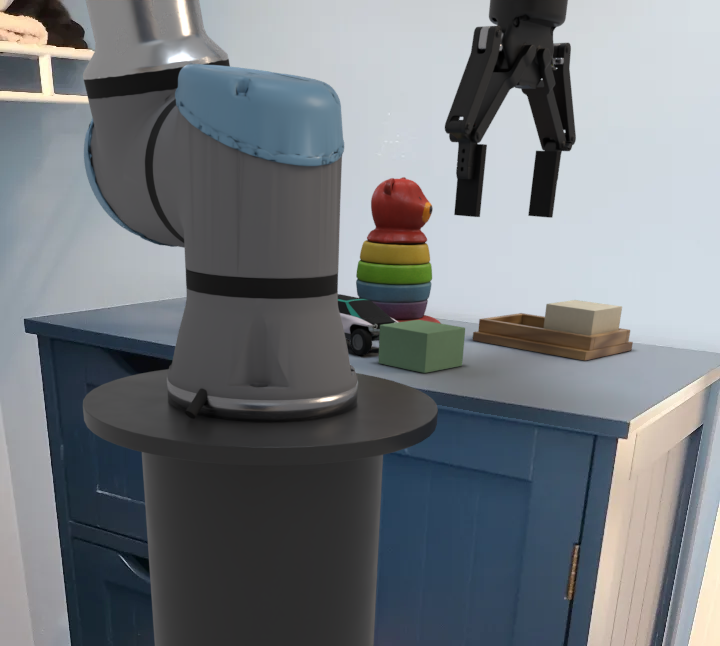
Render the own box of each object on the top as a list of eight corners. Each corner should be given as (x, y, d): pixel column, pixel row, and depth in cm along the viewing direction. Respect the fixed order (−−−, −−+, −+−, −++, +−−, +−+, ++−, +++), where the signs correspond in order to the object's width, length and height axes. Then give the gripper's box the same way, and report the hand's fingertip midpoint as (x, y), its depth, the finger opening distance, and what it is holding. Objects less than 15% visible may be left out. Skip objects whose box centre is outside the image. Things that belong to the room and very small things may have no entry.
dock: (585, 360, 108) (588, 338, 107) (472, 340, 118) (474, 319, 117) (631, 350, 116) (635, 329, 114) (522, 332, 125) (524, 312, 124)
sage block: (424, 373, 98) (427, 333, 97) (377, 363, 102) (379, 324, 100) (462, 365, 103) (465, 327, 101) (416, 356, 107) (418, 319, 105)
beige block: (589, 346, 110) (594, 310, 108) (542, 338, 114) (546, 303, 112) (617, 341, 115) (622, 306, 113) (570, 333, 118) (575, 299, 117)
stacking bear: (414, 343, 114) (424, 179, 106) (339, 334, 117) (343, 175, 109) (446, 332, 122) (458, 179, 114) (375, 324, 126) (382, 175, 118)
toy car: (336, 336, 116) (338, 290, 114) (403, 352, 108) (406, 303, 106) (298, 340, 113) (299, 293, 110) (365, 357, 105) (367, 306, 102)
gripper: (487, -53, 81) (462, 218, 90) (629, -6, 98) (595, 219, 107) (419, -45, 85) (402, 213, 95) (566, -1, 102) (539, 214, 112)
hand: (505, 216), depth 101 cm, fingers open, 13 cm apart
